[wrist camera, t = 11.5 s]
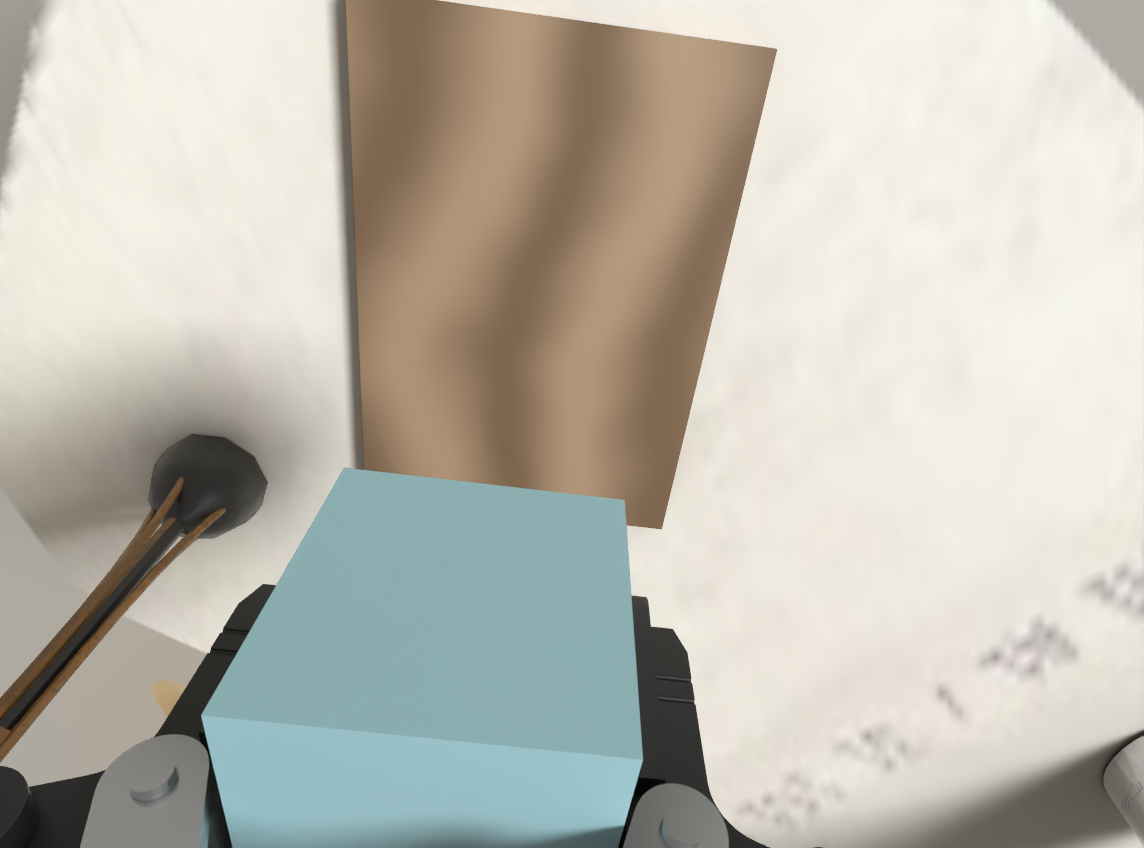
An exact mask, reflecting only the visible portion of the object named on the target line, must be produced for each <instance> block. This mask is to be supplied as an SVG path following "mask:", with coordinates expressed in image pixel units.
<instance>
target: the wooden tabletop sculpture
mask: <svg viewBox="0 0 1144 848" xmlns="http://www.w3.org/2000/svg"><path fill="white" fill-rule="evenodd" d="M267 483H268V482H267V480H266V478H265V476H264V474H263V473H262V471H261V469H260V467H259V465H258V463H257V461H256V459H255V457H254V456H253V455H251V454H250V453H248V452H246V451H245V450H243V449H242V448H240V447H239V446H237V445H236V444H234V443H233V442H231V441H229V440H228V439H226V438H223V437H214V436H204V435H194V434H192V435H190V436H188V437H187V438H185V439H183V440H181V441H180V442H178V443H176V444H175V445H173V446H171V447H169V448H168V449H167V450H166V451H165V452H164V454H163V455H162V456H161V457H160V458H159V460H158V461H157V463H156V464H155V466H154V470H153V475H152V479H151V486H150V492H149V499H148V500H149V503H150V506H151V508H152V509H151V511H150V513H149V515H148V516H147V518H146V519H145V521H144V523H143V524H142V526H141V527H140V529H139V531H138V532H137V534H136V535H135V537H134V539H133V540H132V541H131V543H130V544H129V545H128V547H127V548H126V550H125V551H124V552H123V554H122V555H121V556H120V558H119V559H118V560H117V562H116V563H115V565H114V566H113V567H112V569H111V570H110V571H109V573H108V574H107V575H106V576H105V577H104V579H103V580H102V581H101V582H100V584H99V585H98V586H97V587H96V588H95V590H94V591H93V592H92V593H91V595H90V596H89V597H88V598H87V600H86V601H85V602H84V603H83V604H82V606H81V607H80V608H79V609H78V611H77V612H76V613H75V614H74V615H73V616H72V618H71V619H70V620H69V621H68V622H67V623H66V624H65V626H64V627H63V628H62V629H61V630H60V631H59V632H58V634H57V635H56V636H55V637H54V638H53V639H52V640H51V642H50V643H49V644H48V645H47V646H46V647H45V648H44V650H43V651H42V652H41V653H40V654H39V655H38V657H37V658H36V659H35V660H34V661H33V662H32V663H31V664H30V666H29V667H28V668H27V669H26V670H25V671H24V673H22V674H21V676H20V677H19V678H18V679H17V680H16V681H15V682H14V683H13V684H12V686H11V687H10V688H9V689H8V690H7V691H6V692H5V693H4V694H3V696H2V697H1V698H0V762H1V761H2V760H3V759H4V757H5V756H6V755H7V754H8V753H9V751H10V750H11V749H12V748H13V746H14V745H15V744H16V743H17V742H18V740H19V739H20V738H21V737H22V735H23V734H24V733H25V732H26V731H27V729H28V728H29V727H30V726H31V724H32V723H33V722H34V721H35V720H36V718H37V717H38V716H39V715H40V713H41V712H42V711H43V710H44V709H45V707H46V706H47V705H48V704H49V703H50V701H51V700H52V699H53V698H54V696H55V695H56V694H57V693H58V692H59V690H60V689H61V688H62V687H63V685H64V684H65V683H66V682H67V681H68V679H69V678H70V677H71V676H72V674H73V673H74V672H75V671H76V669H77V668H78V667H79V666H80V665H81V664H82V662H83V661H84V660H85V659H86V658H87V657H88V655H89V654H90V653H91V652H92V651H93V649H94V648H95V647H96V646H97V645H98V643H99V642H100V641H101V640H102V639H103V637H104V636H105V635H106V634H107V633H108V631H109V630H110V629H111V628H112V627H113V626H114V624H115V623H116V622H117V621H118V620H119V618H120V617H121V616H122V615H123V614H124V613H125V612H126V611H127V610H128V608H129V607H130V606H131V605H132V604H133V603H134V602H135V601H136V600H137V598H138V597H139V596H140V595H141V594H142V593H143V592H144V591H145V590H146V588H147V587H148V586H149V585H150V584H151V583H152V582H153V581H154V580H155V579H156V577H157V576H158V575H159V574H160V573H161V572H162V571H163V570H164V569H165V568H166V567H167V566H168V565H169V564H170V563H171V562H172V561H173V560H174V559H175V558H176V557H177V556H178V555H180V554H181V553H182V552H183V551H184V550H185V549H186V548H187V547H188V546H190V545H191V544H192V543H193V542H194V541H196V540H197V539H198V538H215V537H218V536H220V535H222V534H224V533H226V532H228V531H230V530H232V529H234V528H236V527H238V526H239V525H241V524H243V523H245V522H247V521H248V520H249V519H250V518H251V517H252V516H253V515H254V514H255V513H256V512H257V510H258V509H259V508H260V507H261V505H262V502H263V498H264V494H265V490H266V487H267ZM160 523H161V525H162V526H161V527H160V528H159V529H158V530H157V531H156V532H155V534H154V535H153V536H152V537H151V535H152V534H153V533H154V531H155V530H156V529H157V527H158V526H159V524H160ZM179 536H180V537H184V538H183V539H182V540H181V541H180V542H179V543H178V544H177V545H176V546H175V547H174V548H173V549H171V550H170V551H169V552H168V553H167V554H166V555H165V556H164V557H163V558H162V559H161V560H160V558H161V557H162V556H163V555H164V554H165V552H166V551H167V550H168V549H169V548H170V546H171V545H172V544H173V543H174V542H175V540H176V539H177V538H178V537H179ZM150 537H151V538H150ZM149 538H150V539H149ZM147 541H148V542H147ZM146 542H147V543H146ZM159 560H160V561H159ZM158 561H159V562H158ZM157 562H158V563H157ZM156 563H157V564H156ZM155 564H156V565H155Z"/></svg>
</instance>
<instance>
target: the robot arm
mask: <svg viewBox="0 0 1144 848" xmlns="http://www.w3.org/2000/svg"><path fill="white" fill-rule="evenodd" d="M275 587H276V585H267V584H263V585H261V586H260V587H259V588H258V589H256V590H255V591H254V592H253V593H251V594H250V595H249V596H248V597H246V598H245V599H244V600H243V601H241V602H240V603H239V604H238V605H237V607H236V609H235V610H234V612H233V613H232V615H231V617H230V618H229V620H228V621H227V623H226V625H225V626H224V628H223V632H222V633H220V634H219V636H218V637H217V639H216V641H215V642H214V644H213V645H212V647H211V651H210V653H207V655H206V657H205V658H204V660H203V661H202V663H201V665H200V666H199V668H198V669H197V671H196V673H195V674H194V676H193V677H192V679H191V681H190V682H189V684H188V685H187V687H186V689H185V690H184V692H183V693H182V695H181V697H180V698H179V700H178V701H177V703H176V705H175V706H174V708H173V709H172V711H171V713H170V714H169V716H168V717H167V719H166V721H165V722H164V724H163V725H162V727H161V728H160V730H159V731H158V733H157V734H156V735H155V736H154V737H153V738H151V739H148V740H145V741H143V742H141V743H139V744H137V745H135V746H133V747H132V748H130V749H128V750H127V751H125V752H124V753H123V754H122V755H120V756H119V757H118V758H117V759H116V760H115V761H114V762H113V763H112V764H111V765H110V766H109V767H108V768H107V769H106V770H104V771H102V772H99V773H95V774H91V775H87V776H82V777H77V778H73V779H67V780H62V781H57V782H52V783H47V784H42V785H37V786H32V787H28V784H27V782H26V781H25V778H24V777H23V776H22V775H21V774H20V773H19V772H18V771H16V770H14V769H12V768H8V767H4V766H0V848H233V847H232V843H231V839H230V835H229V831H228V826H227V822H226V818H225V814H224V810H223V805H222V801H221V797H220V793H219V789H218V784H217V780H216V776H215V772H214V768H213V763H212V759H211V755H210V751H209V747H208V743H207V738H206V734H205V730H204V726H203V722H202V717H201V715H202V713H203V711H204V709H205V708H206V706H207V704H208V703H209V701H210V699H211V697H212V696H213V694H214V692H215V690H216V689H217V687H218V685H219V684H220V682H221V680H222V678H223V677H224V675H225V673H226V671H227V670H228V668H229V666H230V665H231V663H232V661H233V659H234V658H235V656H236V654H237V652H238V651H239V649H240V647H241V646H242V644H243V642H244V640H245V639H246V637H247V635H248V633H249V632H250V630H251V628H252V627H253V625H254V623H255V621H256V620H257V618H258V616H259V614H260V613H261V611H262V609H263V607H264V606H265V604H266V602H267V601H268V599H269V597H270V595H271V594H272V592H273V590H274V588H275ZM631 597H632V612H633V626H634V640H635V654H636V668H637V682H638V696H639V710H640V724H641V738H642V752H643V762H642V765H641V769H640V772H639V776H638V779H637V783H636V786H635V790H634V793H633V797H632V800H631V804H630V807H629V811H628V814H627V818H626V821H625V825H624V828H623V832H622V835H621V839H620V842H619V846H618V848H769V847H767V846H765V845H762V844H760V843H758V842H756V841H754V840H752V839H750V838H748V837H746V836H745V835H743V834H742V833H740V832H739V831H738V830H736V829H735V828H734V827H733V826H732V825H731V824H730V823H729V822H728V821H727V820H726V819H725V818H724V817H723V815H722V814H721V813H720V811H719V810H718V808H717V807H716V805H715V803H714V801H713V799H712V796H711V794H710V791H709V787H708V783H707V776H706V770H705V763H704V757H703V750H702V744H701V737H700V731H699V725H698V718H697V712H696V705H694V692H693V686H692V683H691V673H690V667H689V660H688V654H687V651H686V650H685V648H684V646H683V645H682V643H681V642H680V640H679V638H678V637H677V635H676V634H675V632H674V630H673V629H668V628H658V627H651V625H650V615H649V605H648V600H647V598H646V597H639V596H631ZM1103 781H1104V788H1105V789H1106V791H1107V793H1108V795H1109V796H1110V798H1111V799H1112V801H1113V802H1114V804H1115V805H1116V807H1117V808H1118V809H1119V811H1120V812H1121V814H1122V815H1123V817H1124V818H1125V820H1126V821H1127V823H1128V824H1129V826H1130V827H1131V828H1132V830H1133V831H1134V833H1135V834H1136V836H1137V837H1138V839H1139V840H1140V842H1141V843H1142V845H1143V846H1144V736H1142V737H1140V738H1138V739H1136V740H1135V741H1133V742H1132V743H1130V744H1129V745H1127V746H1126V747H1125V748H1123V749H1122V750H1121V751H1120V752H1119V753H1118V754H1117V755H1116V756H1115V757H1114V758H1113V759H1112V760H1111V762H1110V763H1109V765H1108V766H1107V768H1106V770H1105V774H1104V777H1103ZM816 848H821V847H816Z"/></svg>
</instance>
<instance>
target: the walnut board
mask: <svg viewBox="0 0 1144 848" xmlns="http://www.w3.org/2000/svg"><path fill="white" fill-rule="evenodd" d="M346 25H347V50H348V76H349V101H350V127H351V152H352V177H353V203H354V228H355V254H356V279H357V304H358V330H359V355H360V381H361V406H362V432H363V457H364V470H369V471H378V472H386V473H395V474H404V475H412V476H421V477H430V478H438V479H447V480H456V481H464V482H473V483H482V484H490V485H499V486H508V487H517V488H525V489H534V490H543V491H551V492H560V493H569V494H577V495H586V496H595V497H603V498H612V499H621V500H625V513H626V525H629V526H638V527H647V528H656V529H662V526H663V522H664V517H665V513H666V509H667V505H668V501H669V497H670V492H671V488H672V484H673V480H674V476H675V472H676V468H677V463H678V459H679V455H680V451H681V447H682V443H683V438H684V434H685V430H686V426H687V422H688V418H689V414H690V409H691V405H692V401H693V397H694V393H695V389H696V384H697V380H698V376H699V372H700V368H701V364H702V360H703V355H704V351H705V347H706V343H707V339H708V335H709V330H710V326H711V322H712V318H713V314H714V310H715V306H716V301H717V297H718V293H719V289H720V285H721V281H722V276H723V272H724V268H725V264H726V260H727V256H728V252H729V247H730V243H731V239H732V235H733V231H734V227H735V222H736V218H737V214H738V210H739V206H740V202H741V198H742V193H743V189H744V185H745V181H746V177H747V173H748V168H749V164H750V160H751V156H752V152H753V148H754V144H755V139H756V135H757V131H758V127H759V123H760V119H761V114H762V110H763V106H764V102H765V98H766V94H767V90H768V85H769V81H770V77H771V73H772V69H773V65H774V60H775V56H776V52H777V49H774V48H767V47H760V46H753V45H746V44H739V43H732V42H725V41H718V40H711V39H704V38H697V37H690V36H683V35H676V34H669V33H662V32H655V31H648V30H641V29H634V28H627V27H620V26H613V25H606V24H599V23H592V22H585V21H578V20H571V19H564V18H557V17H550V16H543V15H536V14H529V13H522V12H515V11H508V10H501V9H494V8H487V7H480V6H473V5H466V4H459V3H452V2H445V1H438V0H346Z"/></svg>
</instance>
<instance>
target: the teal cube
mask: <svg viewBox="0 0 1144 848" xmlns="http://www.w3.org/2000/svg"><path fill="white" fill-rule="evenodd" d="M201 717H202V722H203V726H204V730H205V734H206V738H207V743H208V747H209V751H210V755H211V759H212V763H213V768H214V772H215V776H216V780H217V784H218V789H219V793H220V797H221V801H222V805H223V810H224V814H225V818H226V822H227V826H228V831H229V835H230V839H231V843H232V847H233V848H618V846H619V842H620V839H621V835H622V832H623V828H624V825H625V821H626V818H627V814H628V811H629V807H630V804H631V800H632V797H633V793H634V790H635V786H636V783H637V779H638V776H639V772H640V769H641V765H642V762H643V752H642V738H641V724H640V710H639V696H638V682H637V668H636V654H635V640H634V626H633V612H632V597H631V583H630V569H629V555H628V541H627V527H626V513H625V500H621V499H612V498H603V497H595V496H586V495H577V494H569V493H560V492H551V491H543V490H534V489H525V488H517V487H508V486H499V485H490V484H482V483H473V482H464V481H456V480H447V479H438V478H430V477H421V476H412V475H404V474H395V473H386V472H378V471H369V470H360V469H352V468H344V469H343V471H342V473H341V474H340V476H339V478H338V480H337V481H336V483H335V485H334V487H333V488H332V490H331V492H330V493H329V495H328V497H327V499H326V500H325V502H324V504H323V506H322V507H321V509H320V511H319V512H318V514H317V516H316V518H315V519H314V521H313V523H312V525H311V526H310V528H309V530H308V531H307V533H306V535H305V537H304V538H303V540H302V542H301V544H300V545H299V547H298V549H297V550H296V552H295V554H294V556H293V557H292V559H291V561H290V563H289V564H288V566H287V568H286V569H285V571H284V573H283V575H282V576H281V578H280V580H279V582H278V583H277V585H276V587H275V588H274V590H273V592H272V594H271V595H270V597H269V599H268V601H267V602H266V604H265V606H264V607H263V609H262V611H261V613H260V614H259V616H258V618H257V620H256V621H255V623H254V625H253V627H252V628H251V630H250V632H249V633H248V635H247V637H246V639H245V640H244V642H243V644H242V646H241V647H240V649H239V651H238V652H237V654H236V656H235V658H234V659H233V661H232V663H231V665H230V666H229V668H228V670H227V671H226V673H225V675H224V677H223V678H222V680H221V682H220V684H219V685H218V687H217V689H216V690H215V692H214V694H213V696H212V697H211V699H210V701H209V703H208V704H207V706H206V708H205V709H204V711H203V713H202V715H201Z"/></svg>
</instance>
